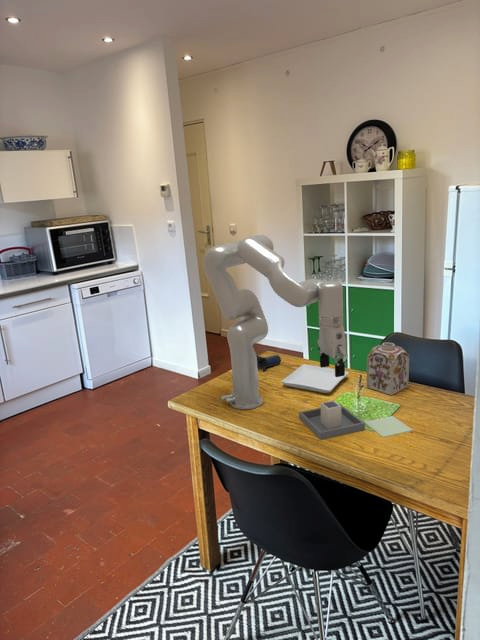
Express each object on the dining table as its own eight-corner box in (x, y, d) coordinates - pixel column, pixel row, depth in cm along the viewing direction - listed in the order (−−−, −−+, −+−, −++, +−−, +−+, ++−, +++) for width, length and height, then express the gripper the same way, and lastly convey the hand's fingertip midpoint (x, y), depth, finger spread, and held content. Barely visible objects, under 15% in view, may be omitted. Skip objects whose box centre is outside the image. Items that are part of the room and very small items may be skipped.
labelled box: (327, 428, 161) (327, 408, 159) (320, 422, 166) (320, 402, 164) (341, 425, 163) (341, 406, 161) (334, 419, 167) (333, 400, 165)
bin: (320, 441, 155) (320, 432, 154) (299, 420, 169) (298, 412, 169) (364, 431, 159) (365, 423, 158) (340, 411, 174) (340, 403, 173)
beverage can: (264, 375, 215) (283, 369, 223) (266, 359, 212) (285, 353, 220) (250, 366, 221) (269, 360, 229) (252, 351, 218) (271, 346, 226)
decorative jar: (365, 388, 192) (366, 344, 188) (382, 379, 200) (383, 337, 195) (392, 396, 184) (393, 351, 179) (409, 387, 191) (411, 343, 186)
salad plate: (330, 398, 186) (330, 389, 185) (280, 388, 197) (280, 380, 196) (350, 378, 203) (350, 370, 202) (303, 371, 214) (302, 363, 213)
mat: (383, 439, 154) (383, 436, 154) (364, 424, 164) (364, 421, 164) (412, 432, 157) (413, 429, 157) (392, 417, 167) (392, 415, 167)
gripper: (356, 325, 148) (356, 378, 153) (328, 313, 164) (329, 361, 169) (334, 328, 146) (335, 382, 150) (307, 316, 162) (309, 365, 166)
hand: (332, 371), depth 159 cm, fingers open, 9 cm apart
